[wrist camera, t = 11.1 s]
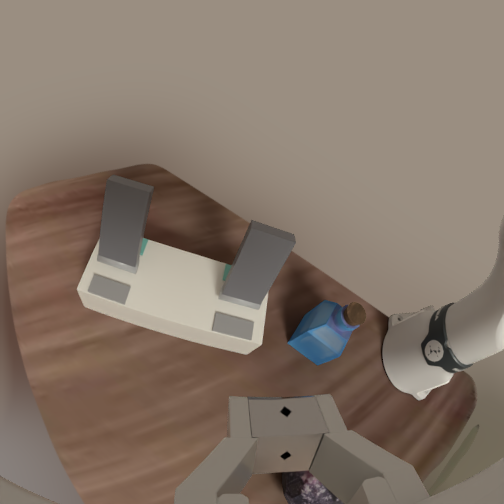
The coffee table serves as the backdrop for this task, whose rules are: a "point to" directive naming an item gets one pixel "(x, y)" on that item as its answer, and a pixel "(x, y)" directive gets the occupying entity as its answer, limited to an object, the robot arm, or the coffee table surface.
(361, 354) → the coffee table surface
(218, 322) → the switch unit
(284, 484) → the mineral specimen
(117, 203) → the outer lever
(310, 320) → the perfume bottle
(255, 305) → the inner lever
